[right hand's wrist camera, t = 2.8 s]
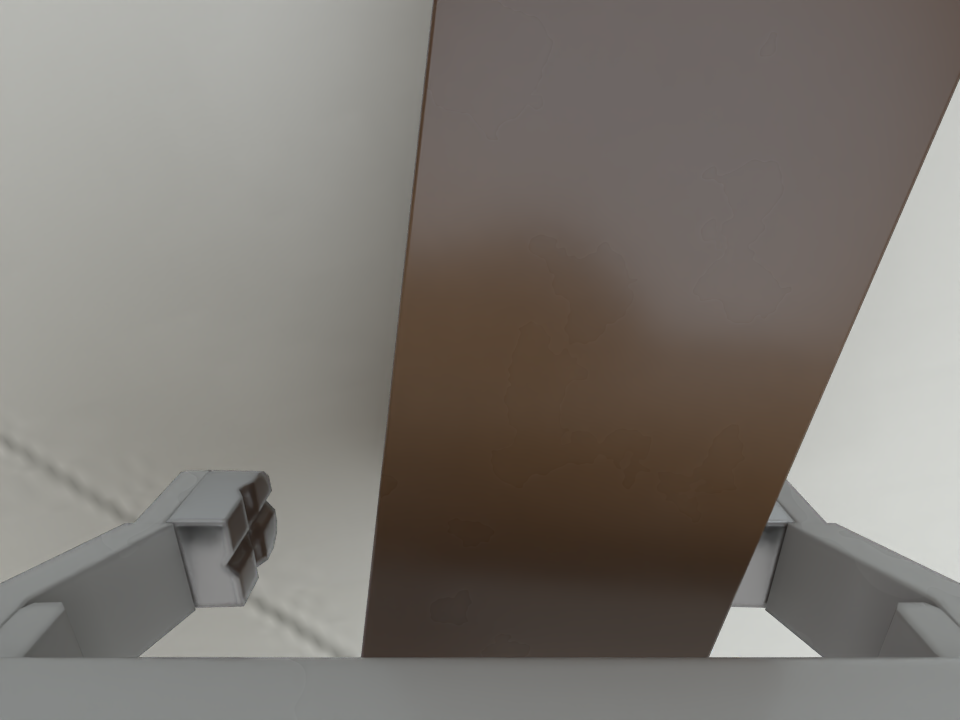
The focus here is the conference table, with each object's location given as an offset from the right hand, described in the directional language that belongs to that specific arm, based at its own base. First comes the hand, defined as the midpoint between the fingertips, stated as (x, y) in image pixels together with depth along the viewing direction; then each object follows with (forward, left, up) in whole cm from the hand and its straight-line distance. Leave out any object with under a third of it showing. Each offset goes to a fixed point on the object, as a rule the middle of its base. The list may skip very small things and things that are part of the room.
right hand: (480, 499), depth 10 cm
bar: (+7, +4, -7) cm, 11 cm away
